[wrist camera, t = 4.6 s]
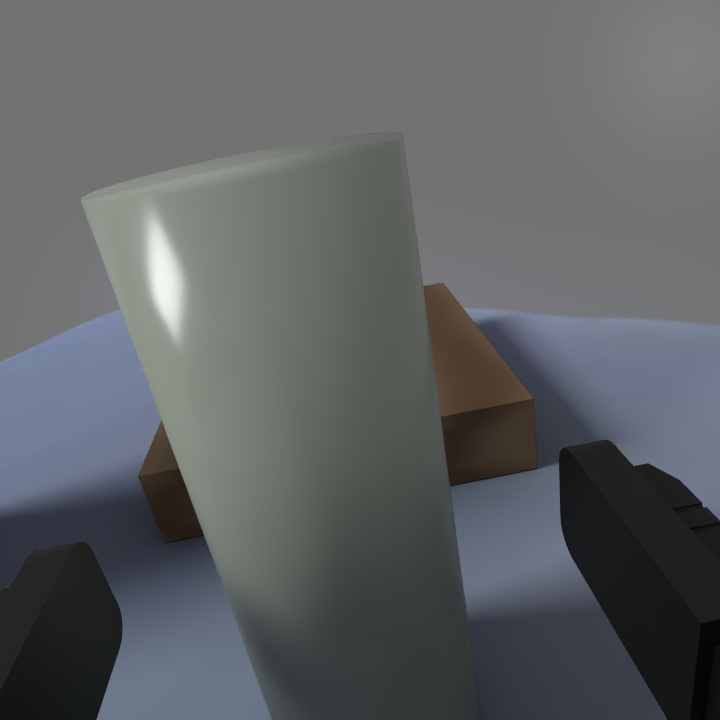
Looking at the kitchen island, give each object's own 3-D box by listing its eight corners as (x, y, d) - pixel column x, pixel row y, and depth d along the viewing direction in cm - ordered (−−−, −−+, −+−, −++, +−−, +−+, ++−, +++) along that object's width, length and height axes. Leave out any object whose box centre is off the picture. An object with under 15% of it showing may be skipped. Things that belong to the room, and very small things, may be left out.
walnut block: (164, 542, 21) (138, 476, 20) (213, 376, 34) (199, 329, 33) (537, 468, 22) (534, 398, 20) (448, 330, 34) (442, 282, 33)
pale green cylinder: (281, 848, 12) (21, 224, 7) (285, 649, 16) (130, 175, 11) (509, 799, 12) (435, 143, 7) (452, 614, 16) (379, 127, 11)
